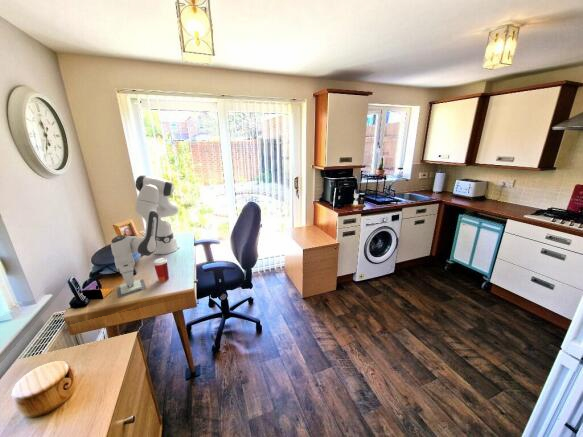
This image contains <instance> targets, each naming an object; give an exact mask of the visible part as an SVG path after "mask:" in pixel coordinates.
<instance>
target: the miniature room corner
mask: <svg viewBox="0 0 583 437" xmlns="http://www.w3.org/2000/svg"><path fill="white" fill-rule="evenodd" d="M96 286H98V282H97V281H96V280H94V281H92V282H91V283H89V285H86V286H85V288H83V289H81V294H82V293H83V295H84V296H86V297H87V298H88V299H89V300H88V301H92V300H96V301H97V300H103V299H105V298H107V297H108V295H110V294H111V293H112V292H114V290H115V288H98V289H96ZM83 295H82V296H83Z"/></svg>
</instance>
